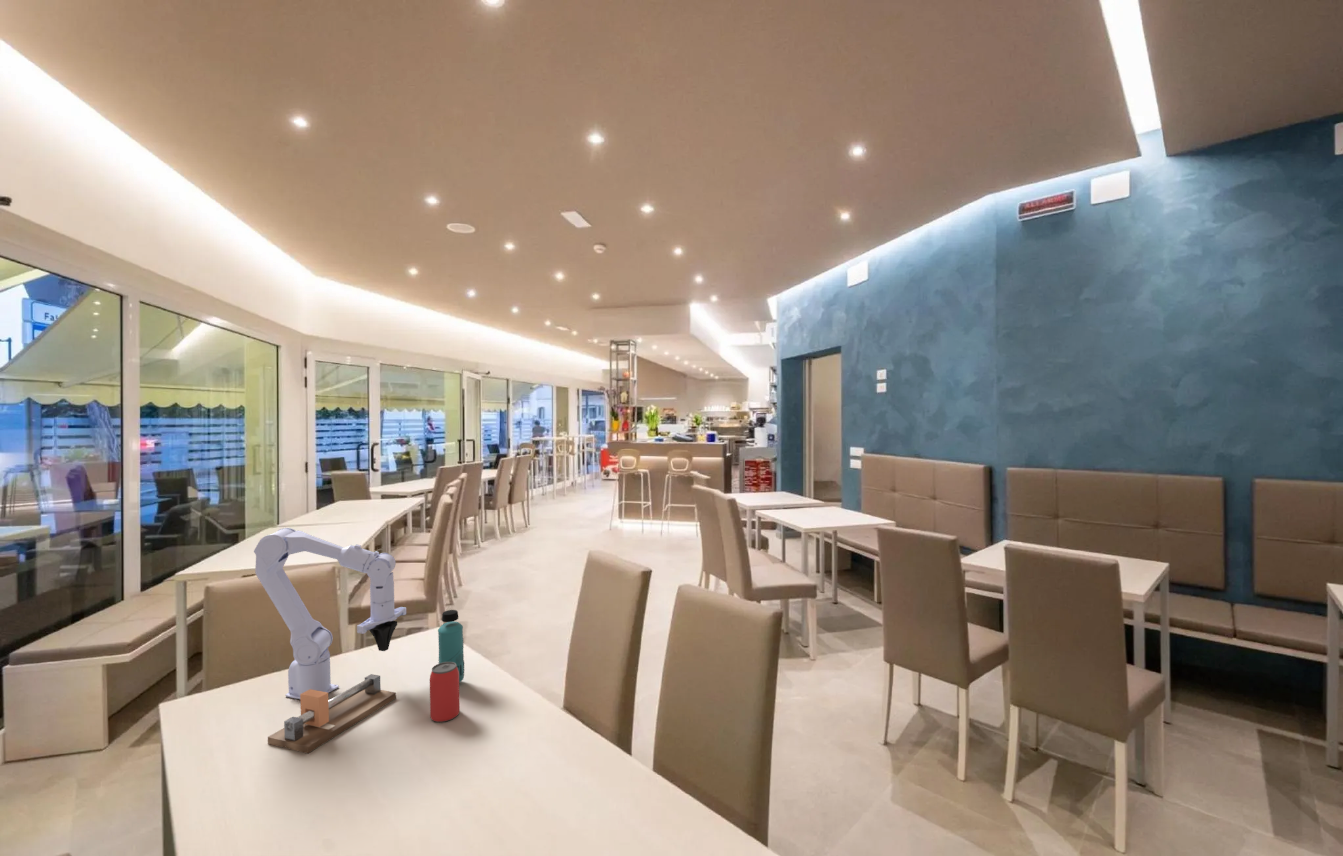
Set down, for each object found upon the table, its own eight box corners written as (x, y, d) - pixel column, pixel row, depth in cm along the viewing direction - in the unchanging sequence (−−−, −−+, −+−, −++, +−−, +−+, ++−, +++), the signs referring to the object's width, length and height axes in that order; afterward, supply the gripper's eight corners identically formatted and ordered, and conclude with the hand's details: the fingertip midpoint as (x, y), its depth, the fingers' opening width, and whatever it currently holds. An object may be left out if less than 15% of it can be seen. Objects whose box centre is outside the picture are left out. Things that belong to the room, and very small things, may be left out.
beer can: (464, 709, 135) (463, 661, 134) (451, 724, 128) (450, 673, 128) (439, 708, 135) (438, 660, 135) (424, 722, 129) (423, 672, 129)
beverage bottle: (455, 692, 143) (454, 616, 143) (433, 689, 144) (431, 615, 144) (469, 680, 149) (468, 608, 149) (448, 678, 151) (446, 606, 150)
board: (267, 743, 121) (267, 736, 121) (359, 691, 144) (359, 685, 144) (307, 753, 117) (307, 746, 117) (395, 698, 140) (395, 692, 140)
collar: (301, 723, 125) (300, 694, 125) (310, 717, 127) (310, 689, 127) (319, 727, 123) (318, 697, 123) (328, 721, 126) (328, 692, 126)
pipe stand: (284, 739, 120) (284, 721, 120) (371, 689, 142) (371, 674, 142) (294, 741, 119) (294, 723, 119) (380, 690, 141) (380, 675, 141)
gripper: (371, 610, 139) (372, 663, 139) (414, 593, 153) (415, 641, 153) (350, 607, 141) (351, 659, 142) (394, 590, 155) (395, 638, 155)
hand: (383, 649), depth 148 cm, fingers closed
